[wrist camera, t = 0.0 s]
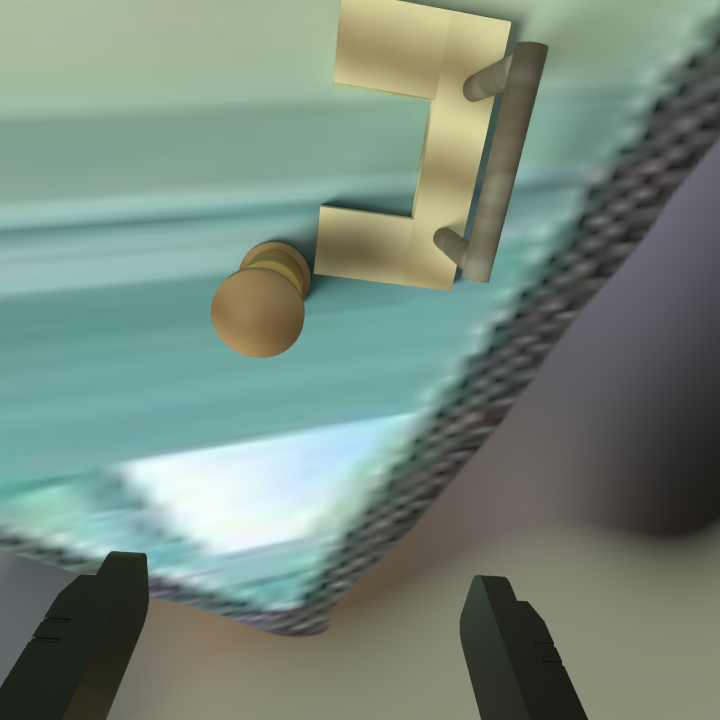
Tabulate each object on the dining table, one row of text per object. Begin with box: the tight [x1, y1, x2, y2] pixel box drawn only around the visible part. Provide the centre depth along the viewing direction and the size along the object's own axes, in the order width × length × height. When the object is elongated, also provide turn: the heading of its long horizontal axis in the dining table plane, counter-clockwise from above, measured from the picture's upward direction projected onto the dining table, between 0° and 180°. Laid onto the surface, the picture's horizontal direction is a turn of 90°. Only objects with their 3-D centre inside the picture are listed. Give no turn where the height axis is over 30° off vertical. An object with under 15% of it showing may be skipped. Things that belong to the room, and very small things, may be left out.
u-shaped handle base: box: [314, 0, 549, 291], centre depth 29 cm, size 18×11×12 cm, turn 172°
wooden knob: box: [211, 241, 311, 358], centre depth 33 cm, size 6×6×10 cm
